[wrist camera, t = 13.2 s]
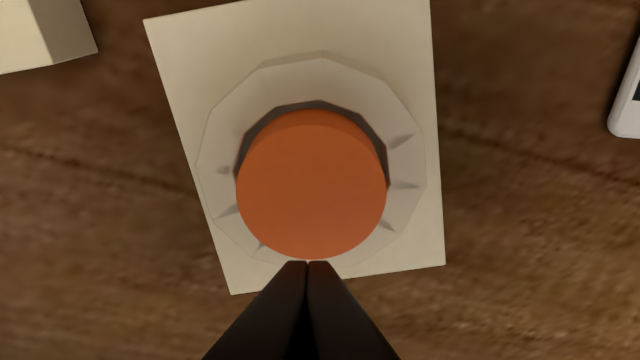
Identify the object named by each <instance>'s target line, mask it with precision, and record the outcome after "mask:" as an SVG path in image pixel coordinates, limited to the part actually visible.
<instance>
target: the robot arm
mask: <svg viewBox="0 0 640 360" xmlns="http://www.w3.org/2000/svg"><path fill="white" fill-rule="evenodd" d="M201 360H401V359H400V358H399V356H398V355H397V354H396V352H395V351H394V350H393V348H392V347H391V346H390V344H389V343H388V341H387V340H386V339H385V337H384V336H383V335H382V333H381V332H380V331H379V329H378V328H377V327H376V325H375V324H374V322H373V321H372V320H371V318H370V317H369V316H368V314H367V313H366V312H365V310H364V309H363V308H362V306H361V305H360V303H359V302H358V301H357V299H356V298H355V297H354V295H353V294H352V293H351V291H350V290H349V289H348V287H347V286H346V284H345V283H344V282H343V280H342V279H341V278H340V276H339V275H338V274H337V272H336V271H335V270H334V268H333V267H332V265H331V264H330V263H329V262H328V261H326V260H312V261H309V263H307V261H304V260H289V261H287V262H286V263H285V264H284V265H283V266H282V268H281V269H280V270H279V271H278V272H277V273H276V274H275V276H274V277H273V278H272V279H271V280H270V281H269V282H268V284H267V285H266V286H265V287H264V288H263V289H262V290H261V292H260V293H259V294H258V295H257V296H256V297H255V298H254V300H253V301H252V302H251V303H250V304H249V305H248V306H247V308H246V309H245V310H244V311H243V312H242V313H241V314H240V316H239V317H238V318H237V319H236V320H235V321H234V322H233V324H232V325H231V326H230V327H229V328H228V329H227V330H226V332H225V333H224V334H223V335H222V336H221V337H220V338H219V340H218V341H217V342H216V343H215V344H214V345H213V346H212V348H211V349H210V350H209V351H208V352H207V353H206V354H205V356H204V357H203V358H202V359H201Z"/></svg>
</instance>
